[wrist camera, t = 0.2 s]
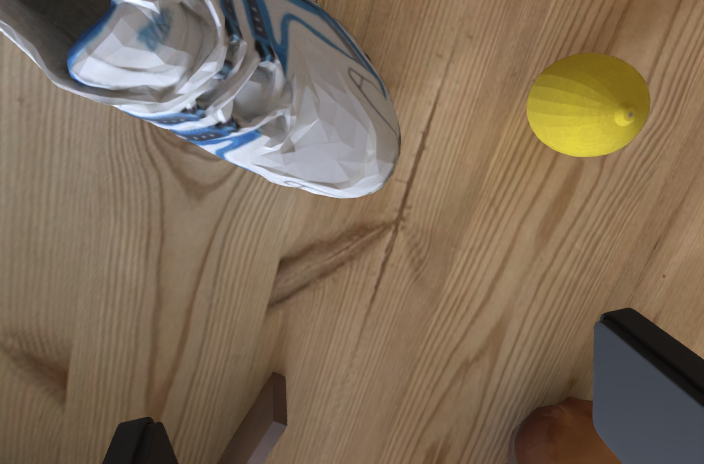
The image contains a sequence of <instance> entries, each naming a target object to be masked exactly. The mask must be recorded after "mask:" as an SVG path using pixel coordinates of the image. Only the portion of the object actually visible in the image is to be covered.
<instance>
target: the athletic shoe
mask: <svg viewBox="0 0 704 464" xmlns="http://www.w3.org/2000/svg"><path fill="white" fill-rule="evenodd" d="M0 30H1V31H2V32H3V33H4V34H5V35H6V36H7V37H8V38H9V39H11V40H12V41H13V42H14V43H15V44H16V45H17V46H18V47H20V48H21V49H22V50H23V51H24V52H25V53H26V54H27V55H28V56H29V57H30V58H31V59H32V60H33V61H34V62H35V63H36V64H37V65H38V66H39V67H40V68H41V69H42V71H43V72H44V73H45V74H46V75H47V76H48V78H49V79H50V80H51V81H52V82H53V83H54V84H55V85H56V86H57V87H59V88H62V89H65V90H67V91H70V92H72V93H75V94H78V95H80V96H83V97H86V98H88V99H91V100H94V101H97V102H99V103H102V104H106V105H112V106H115V107H117V108H119V109H120V110H122V111H124V112H126V113H127V114H129V115H131V116H133V117H136V118H139V119H142V120H145V121H148V122H151V123H153V124H154V125H156V126H159V127H161V128H165V129H169V130H171V131H172V132H173V133H174V134H176V135H177V136H179V137H181V138H182V139H184V140H186V141H190V142H193V143H195V144H196V145H198V146H200V147H202V148H203V149H205V150H207V151H209V152H210V153H212V154H214V155H216V156H218V157H220V158H222V159H225V160H227V161H229V162H231V163H233V164H235V165H237V166H239V167H242V168H244V169H247V170H249V171H252V172H254V173H257V174H259V175H262V176H263V177H265V178H266V179H267V180H269V181H270V182H272V183H276V184H279V185H283V186H288V187H295V188H300V189H304V190H307V191H309V192H311V193H314V194H320V195H325V196H331V197H336V198H356V197H361V196H363V195H368V194H371V193H375V192H377V191H379V190H381V189H382V187H383V186H384V185H385V183H386V182H387V181H388V179H389V178H390V176H391V175H392V174H393V171H394V168H395V166H396V163H397V161H398V158H399V155H400V145H401V133H400V127H399V122H398V119H397V116H396V113H395V110H394V107H393V103H392V99H391V96H390V93H389V91H388V89H387V87H386V85H385V83H384V81H383V79H382V77H381V76H380V74H379V73H378V71H377V70H376V68H375V67H374V65H373V64H372V62H371V60H370V59H369V57H368V55H367V54H366V53H365V52H364V51H363V50H362V49H361V48H360V46H359V44H358V43H357V41H356V39H355V38H354V36H353V35H352V34H351V33H350V32H349V31H348V29H347V28H346V27H345V26H343V25H342V24H341V23H340V22H339V21H338V20H336V19H334V18H332V17H331V16H330V15H329V14H328V13H326V12H325V11H324V10H323V9H322V8H321V7H320V6H319V4H318V3H316V2H315V1H313V0H0Z"/></svg>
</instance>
